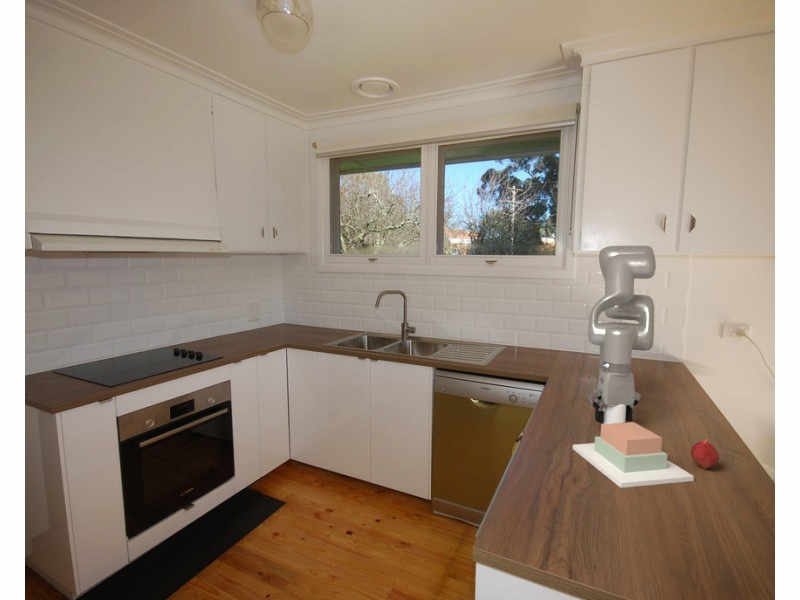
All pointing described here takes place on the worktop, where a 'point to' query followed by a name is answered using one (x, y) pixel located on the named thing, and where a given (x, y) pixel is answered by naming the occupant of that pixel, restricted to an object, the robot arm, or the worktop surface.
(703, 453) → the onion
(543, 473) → the worktop surface
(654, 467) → the tiered block pedestal
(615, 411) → the can
